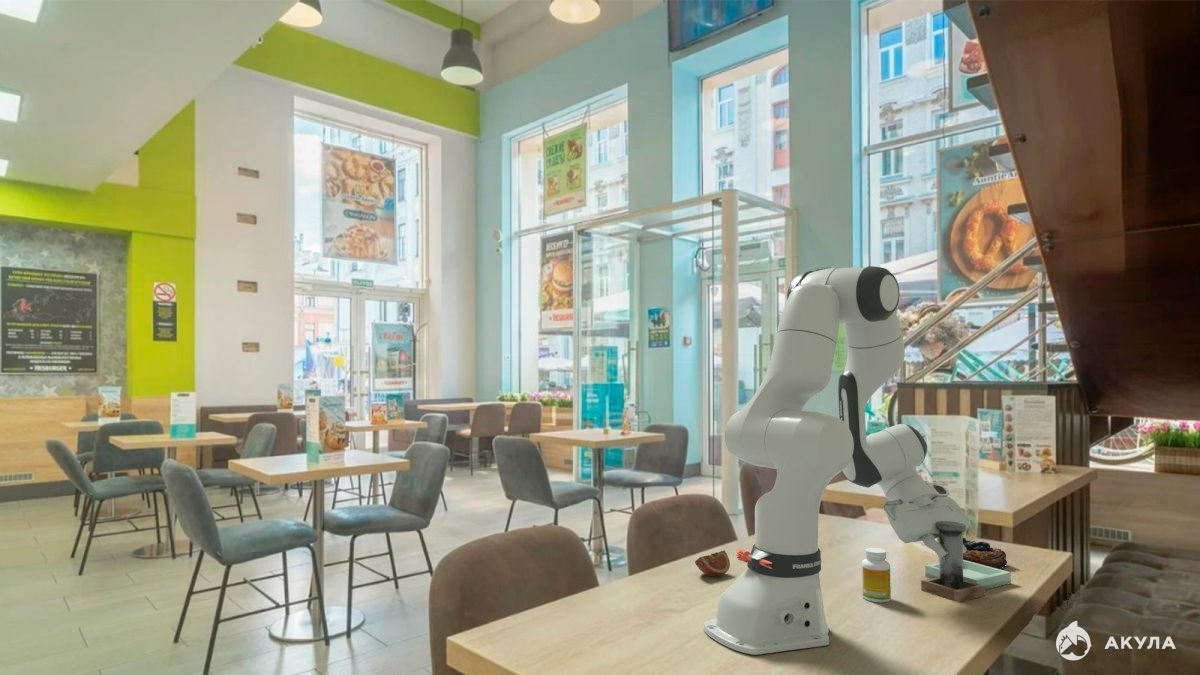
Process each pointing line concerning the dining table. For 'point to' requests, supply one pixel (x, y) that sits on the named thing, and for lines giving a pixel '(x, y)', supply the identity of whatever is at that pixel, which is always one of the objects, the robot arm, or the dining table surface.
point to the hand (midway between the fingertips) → (953, 554)
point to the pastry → (984, 554)
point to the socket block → (953, 590)
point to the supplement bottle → (876, 576)
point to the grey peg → (951, 553)
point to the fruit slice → (714, 564)
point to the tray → (975, 574)
